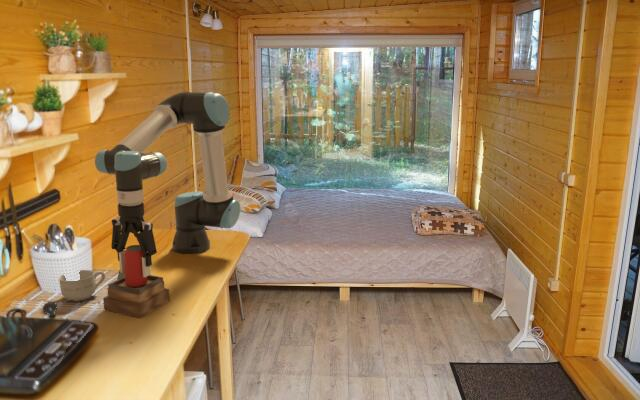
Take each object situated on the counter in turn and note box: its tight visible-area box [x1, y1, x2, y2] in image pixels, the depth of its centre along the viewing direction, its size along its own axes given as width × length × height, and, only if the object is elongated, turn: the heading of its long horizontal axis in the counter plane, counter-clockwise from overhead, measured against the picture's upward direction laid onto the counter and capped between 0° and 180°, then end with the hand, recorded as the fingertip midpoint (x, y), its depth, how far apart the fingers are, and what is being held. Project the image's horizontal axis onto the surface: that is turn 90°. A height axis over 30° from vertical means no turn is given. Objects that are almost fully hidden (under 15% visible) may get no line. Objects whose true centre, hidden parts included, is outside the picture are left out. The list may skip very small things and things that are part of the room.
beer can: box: [125, 244, 147, 287], centre depth 172 cm, size 7×7×12 cm
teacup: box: [58, 269, 106, 302], centre depth 180 cm, size 14×11×8 cm
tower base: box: [103, 274, 171, 319], centre depth 174 cm, size 14×14×8 cm
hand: (135, 273), depth 173 cm, fingers open, 8 cm apart
